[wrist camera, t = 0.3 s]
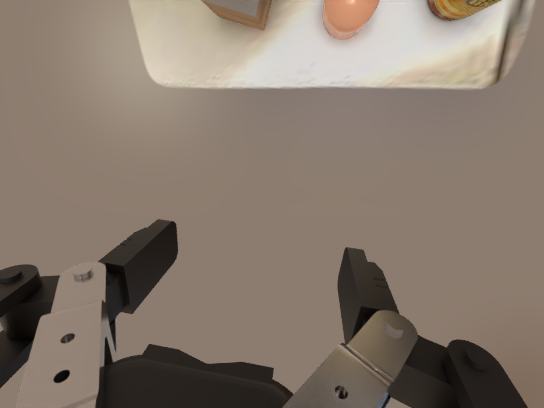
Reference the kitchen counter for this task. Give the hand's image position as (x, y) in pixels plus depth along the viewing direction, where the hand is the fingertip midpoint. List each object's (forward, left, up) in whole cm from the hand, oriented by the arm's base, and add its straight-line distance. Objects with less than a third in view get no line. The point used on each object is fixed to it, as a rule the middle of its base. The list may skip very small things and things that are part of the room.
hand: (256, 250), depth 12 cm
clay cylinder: (-17, +1, -28) cm, 33 cm away
